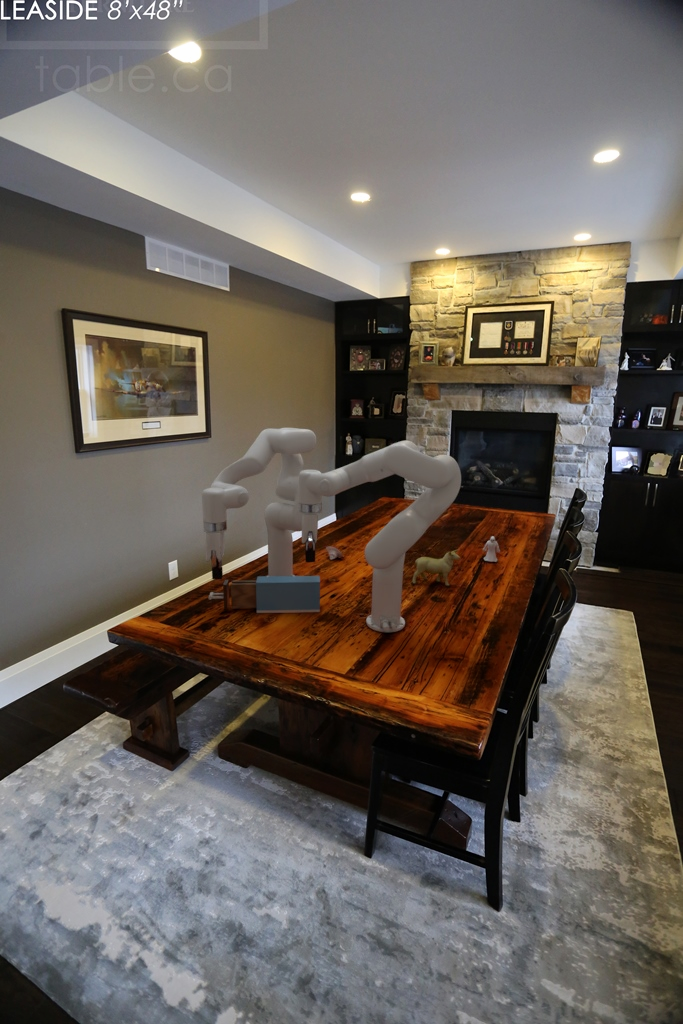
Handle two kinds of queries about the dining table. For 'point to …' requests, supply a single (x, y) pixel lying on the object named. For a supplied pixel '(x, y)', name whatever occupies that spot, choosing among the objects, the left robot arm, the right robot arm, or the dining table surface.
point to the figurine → (491, 550)
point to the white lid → (333, 552)
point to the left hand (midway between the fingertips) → (217, 578)
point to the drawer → (238, 594)
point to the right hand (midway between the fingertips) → (310, 557)
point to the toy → (435, 566)
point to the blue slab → (287, 594)
